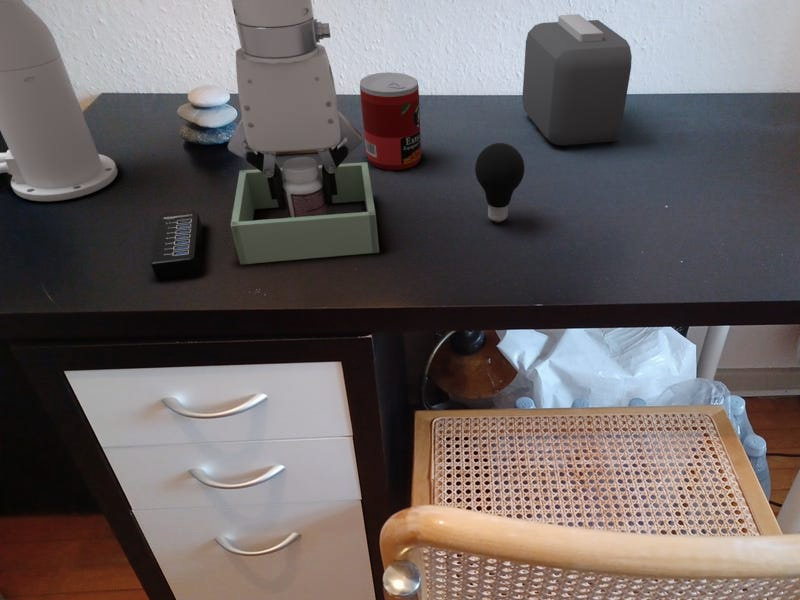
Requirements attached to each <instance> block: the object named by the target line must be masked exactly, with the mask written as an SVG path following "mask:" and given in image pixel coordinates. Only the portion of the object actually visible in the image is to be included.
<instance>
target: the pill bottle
mask: <svg viewBox="0 0 800 600" xmlns="http://www.w3.org/2000/svg"><path fill="white" fill-rule="evenodd" d="M318 165H319V162H318V161H317V160H316V159H315V158H314V157H313V158H312V157H310V156H309V157H308V156H297V157H293V158H289V159H286V160H284V162H283V163H282V165H281V168H282V169H283V175H284V178H285V179H284V180H283V183H282V188H283V193H284V198H285V203H286V207H285V208H286V214H287V218H294V217H306V216H319V215H330V214H329V208H328V205H327V204H326V198H325V191H324V185H323V179H322V177H321V176H320V175H319V167H318Z"/></svg>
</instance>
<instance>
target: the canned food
mask: <svg viewBox="0 0 800 600" xmlns="http://www.w3.org/2000/svg"><path fill="white" fill-rule="evenodd" d="M419 90H420V87H419V81H418V79H417V78H415V77H413V76H412V75H409V74H406V73H400V72H377V73H371V74H369V75H366V76H364V77H362V78H361V79H360V81H359V92H360V93H359V95H360V96H359V97H360V105H361V115H362V125H363V133H364V135H363V136H364V141H365V144H364V146H365V153H366V157H367V160H368V162H369V163H370V164H371V165H372V166H374V167H376V168H378V169H382V170H388V171H400V170H401V171H402V170H407V169H410V168H412V167H415V166H416V165H417V164H418V163H419V162H420V159H421V156H422V141H421V140H422V139H421V138H422V137H421V114H420V110H421V109H420V91H419Z"/></svg>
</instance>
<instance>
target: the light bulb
mask: <svg viewBox="0 0 800 600" xmlns="http://www.w3.org/2000/svg"><path fill="white" fill-rule="evenodd" d="M475 161H476V162H475V166H474V173H475V177H476V180H477V182H478V183H479V185H480V186H481V188H482V189H483V190H484V194H485V199H486V202H487V206H488V208H487V216H488V218H489V219H490V220H491V221H492V222H494V223H497V224H498V223H501V222H503V221H504V220H506V219H507V218H508V214H509V205H510V202H511V200H512V196H513V193H514V192H515V190H516V189H517V188H518V187H519V185H520V184H521V182H522V180H523V179H524V175H525V162H524V159H523V157H522V154H521V153H520V152H519V150H517V148H515V147H514V146H513V145H510V144H509V143H505V142H496V143H492V144H490V145H488V146H486V147H485V148H483V149H482V151H481V152H480V153H479V154H478V155H477V158H476V160H475Z"/></svg>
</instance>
